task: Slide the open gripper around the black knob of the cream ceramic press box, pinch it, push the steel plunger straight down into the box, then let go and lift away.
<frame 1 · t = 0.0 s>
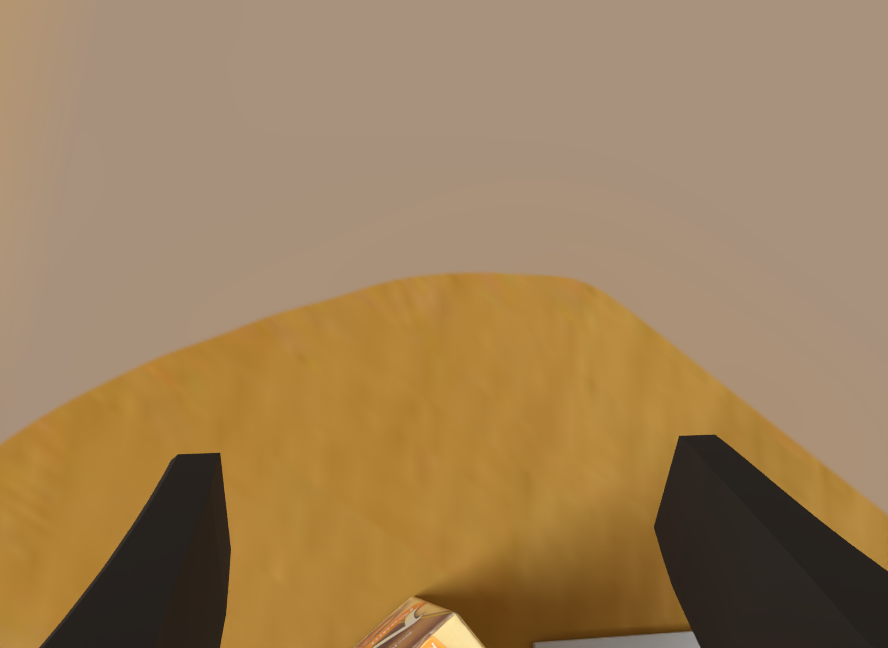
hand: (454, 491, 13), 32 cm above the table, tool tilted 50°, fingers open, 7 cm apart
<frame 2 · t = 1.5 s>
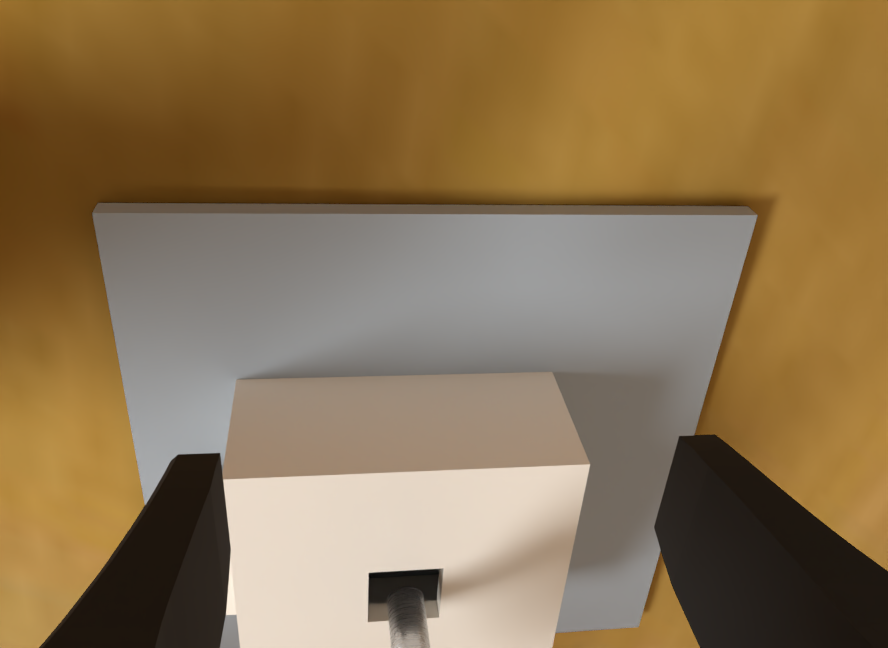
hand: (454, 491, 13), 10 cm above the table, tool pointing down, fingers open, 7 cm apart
press box: (393, 492, 26), resting on board
board: (425, 453, 26), on the table
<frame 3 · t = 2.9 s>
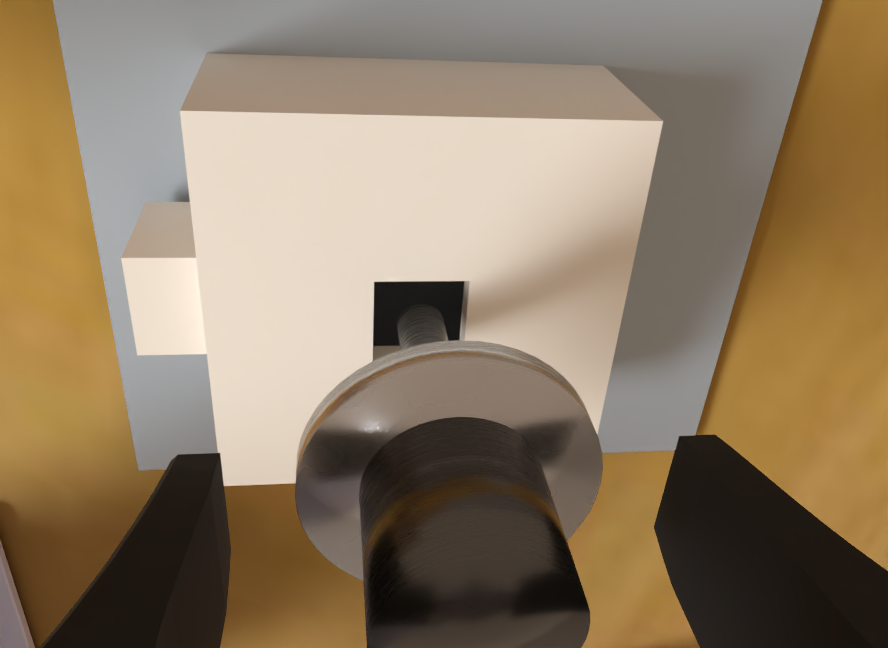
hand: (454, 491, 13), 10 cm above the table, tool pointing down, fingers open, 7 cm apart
press box: (404, 238, 21), resting on board
board: (442, 193, 21), on the table
plunger: (443, 444, 14), point 9 cm above the table, slide at 0.0 cm
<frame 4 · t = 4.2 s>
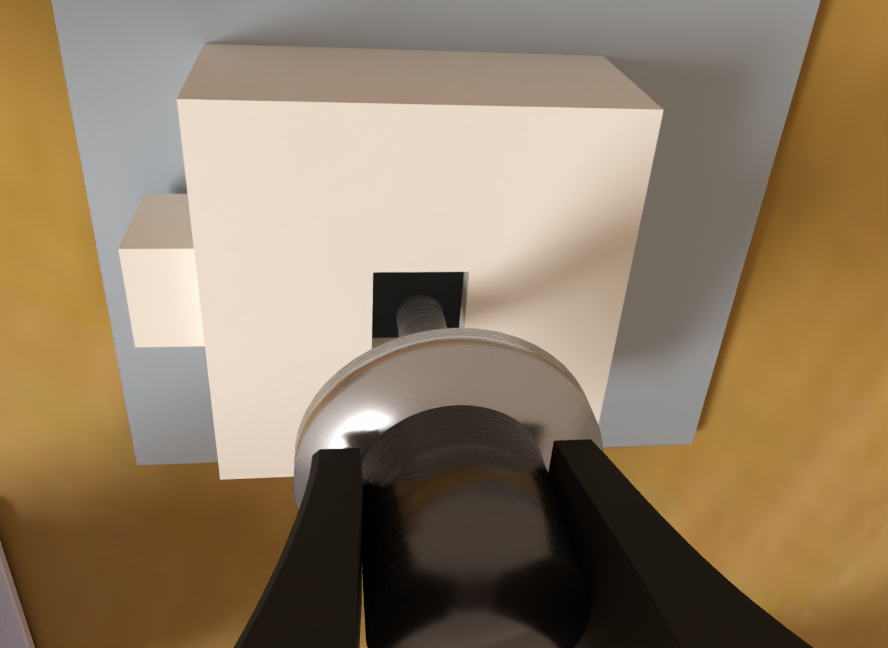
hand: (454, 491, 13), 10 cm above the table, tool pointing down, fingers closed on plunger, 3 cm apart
press box: (403, 231, 21), resting on board
board: (441, 185, 21), on the table
plunger: (442, 434, 14), point 9 cm above the table, slide at 0.0 cm, touching gripper
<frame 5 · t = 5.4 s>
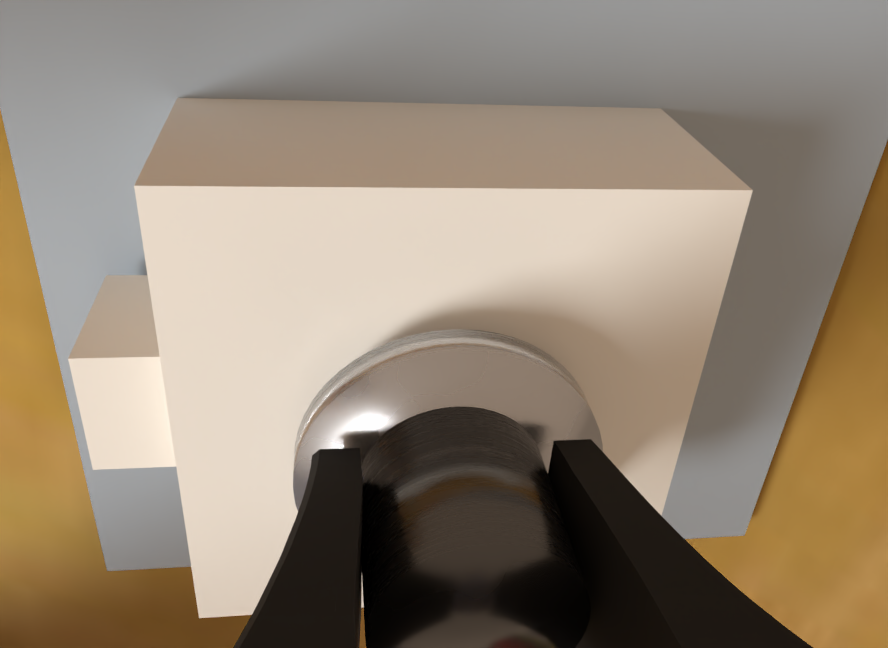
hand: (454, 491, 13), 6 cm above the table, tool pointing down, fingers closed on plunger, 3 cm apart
press box: (418, 311, 17), resting on board
board: (463, 256, 18), on the table
plunger: (442, 436, 14), point 5 cm above the table, slide at 3.9 cm, touching gripper
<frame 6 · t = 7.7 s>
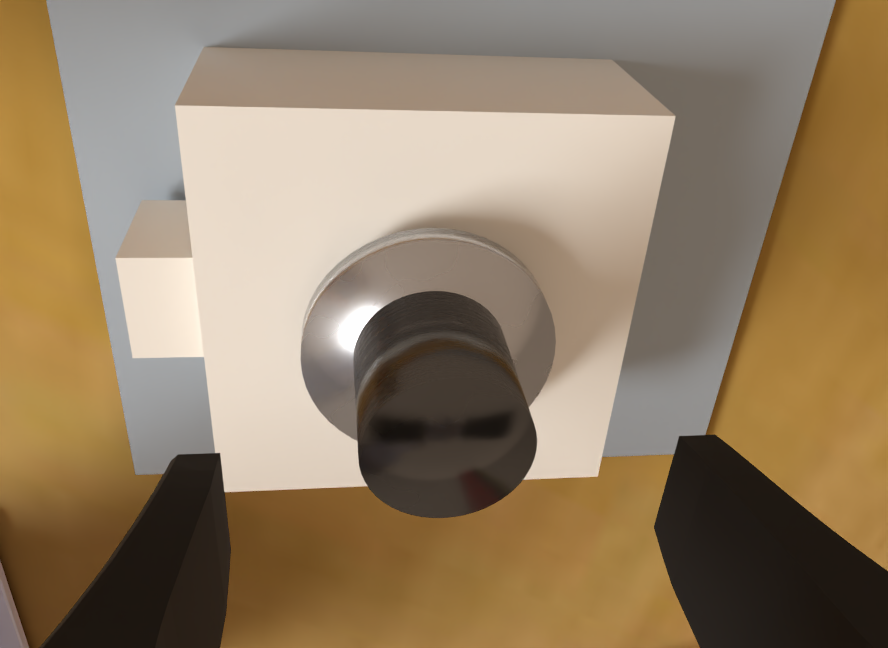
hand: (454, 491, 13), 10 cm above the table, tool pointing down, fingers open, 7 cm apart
press box: (407, 238, 20), resting on board
board: (446, 191, 20), on the table
plunger: (424, 327, 17), point 5 cm above the table, slide at 3.9 cm
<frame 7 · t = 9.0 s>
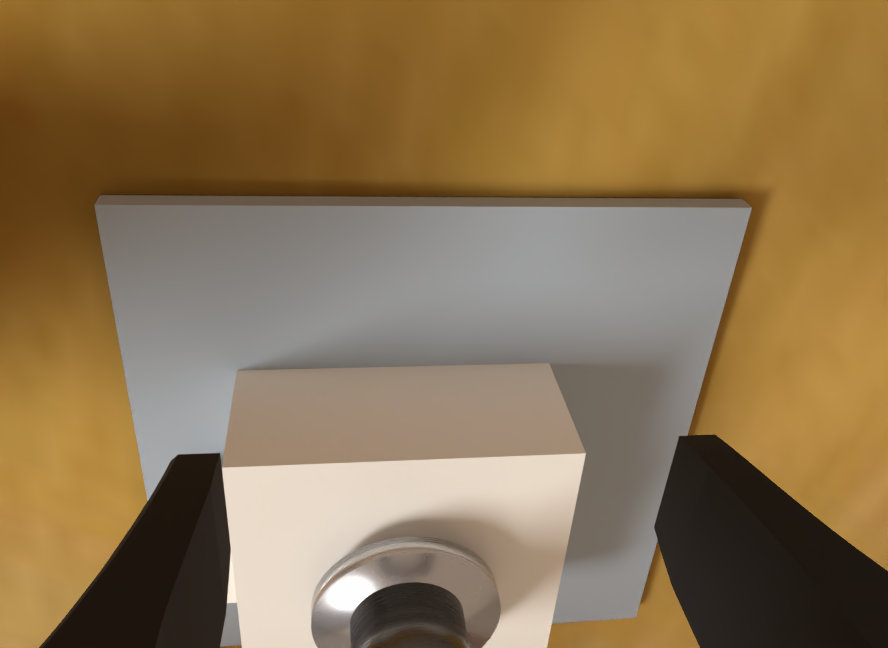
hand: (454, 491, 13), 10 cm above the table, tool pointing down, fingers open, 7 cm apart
press box: (392, 482, 26), resting on board
board: (423, 445, 26), on the table
plunger: (403, 587, 22), point 5 cm above the table, slide at 3.9 cm
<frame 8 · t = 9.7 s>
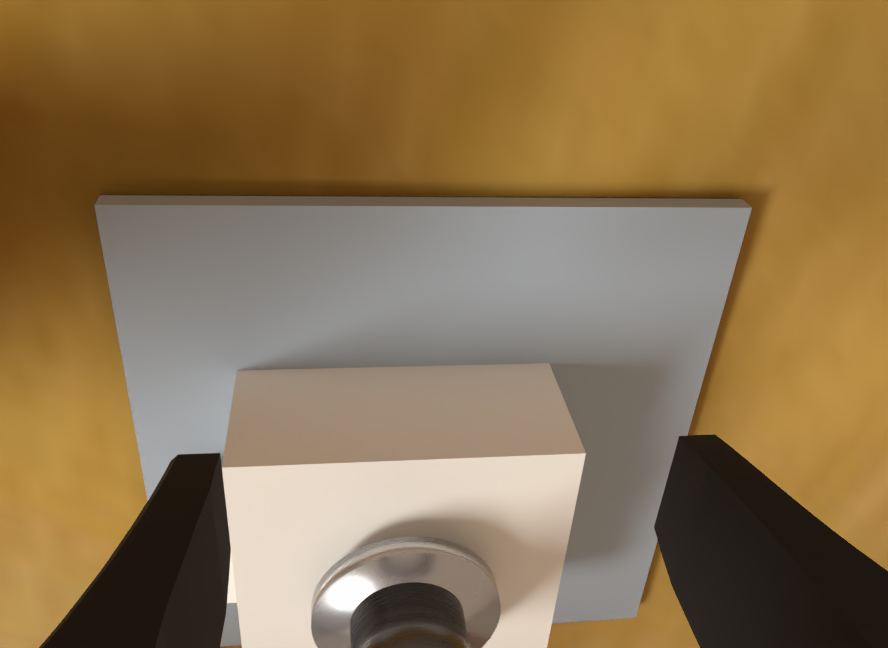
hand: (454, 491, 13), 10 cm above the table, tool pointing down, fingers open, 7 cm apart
press box: (392, 482, 26), resting on board
board: (423, 445, 26), on the table
plunger: (403, 587, 22), point 5 cm above the table, slide at 3.9 cm
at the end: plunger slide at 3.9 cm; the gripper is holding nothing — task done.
